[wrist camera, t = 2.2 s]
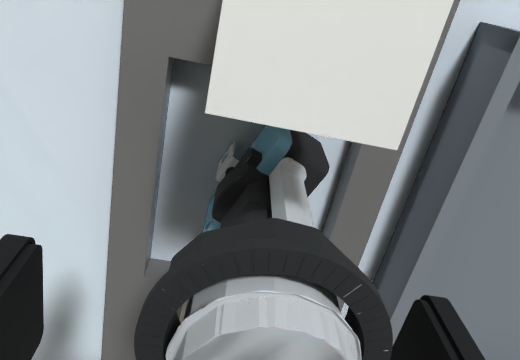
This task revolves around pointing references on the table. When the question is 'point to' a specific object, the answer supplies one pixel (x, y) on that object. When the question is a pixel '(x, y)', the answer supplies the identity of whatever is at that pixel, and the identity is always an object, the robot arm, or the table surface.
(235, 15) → the block
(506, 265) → the tray
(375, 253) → the table surface
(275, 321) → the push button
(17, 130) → the table surface
